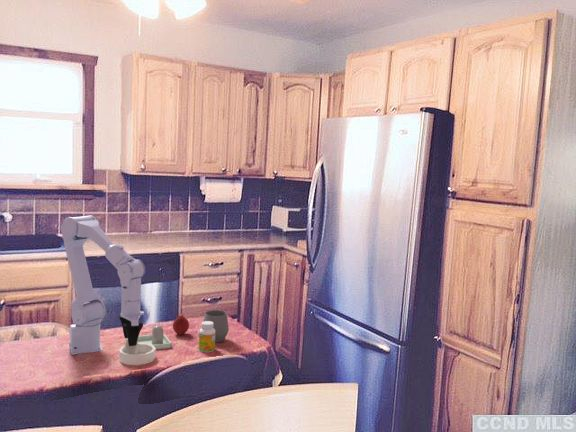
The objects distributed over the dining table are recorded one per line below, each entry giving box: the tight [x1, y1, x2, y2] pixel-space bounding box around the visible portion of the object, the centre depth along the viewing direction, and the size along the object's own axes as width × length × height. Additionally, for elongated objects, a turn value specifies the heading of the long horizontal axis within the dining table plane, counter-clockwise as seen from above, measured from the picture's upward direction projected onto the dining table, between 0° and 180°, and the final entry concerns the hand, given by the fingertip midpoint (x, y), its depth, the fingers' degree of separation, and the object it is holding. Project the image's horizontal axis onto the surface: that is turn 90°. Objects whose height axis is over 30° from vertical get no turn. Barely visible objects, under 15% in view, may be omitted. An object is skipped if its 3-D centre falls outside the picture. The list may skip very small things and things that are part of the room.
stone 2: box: [151, 324, 164, 345], centre depth 185 cm, size 4×4×6 cm
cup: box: [202, 309, 230, 343], centre depth 192 cm, size 10×9×10 cm
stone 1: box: [124, 341, 138, 355], centre depth 170 cm, size 4×4×6 cm
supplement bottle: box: [198, 320, 216, 353], centre depth 182 cm, size 5×5×10 cm
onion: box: [172, 313, 190, 336], centre depth 196 cm, size 6×6×8 cm
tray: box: [125, 332, 173, 350], centre depth 184 cm, size 13×11×2 cm
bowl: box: [118, 343, 157, 366], centre depth 171 cm, size 11×11×4 cm
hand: (130, 341), depth 170 cm, fingers open, 7 cm apart
